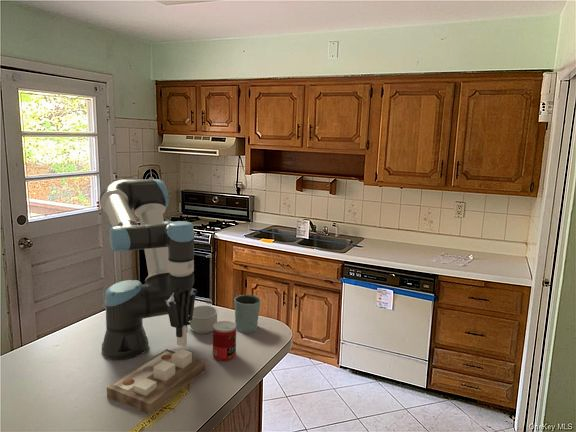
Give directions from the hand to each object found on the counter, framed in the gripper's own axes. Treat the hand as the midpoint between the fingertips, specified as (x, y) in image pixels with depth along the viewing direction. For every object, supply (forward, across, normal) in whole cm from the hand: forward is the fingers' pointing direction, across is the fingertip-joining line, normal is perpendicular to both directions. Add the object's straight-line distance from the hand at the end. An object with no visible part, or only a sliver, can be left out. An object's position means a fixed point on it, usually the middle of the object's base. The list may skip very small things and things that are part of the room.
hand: (181, 344), depth 134 cm
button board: (+9, -8, +2) cm, 12 cm away
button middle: (+8, -8, 0) cm, 11 cm away
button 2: (+8, 0, 0) cm, 8 cm away
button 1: (+9, -16, 0) cm, 18 cm away
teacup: (+9, +27, +13) cm, 32 cm away
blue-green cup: (+9, +37, -2) cm, 38 cm away
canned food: (+10, +15, -6) cm, 19 cm away
